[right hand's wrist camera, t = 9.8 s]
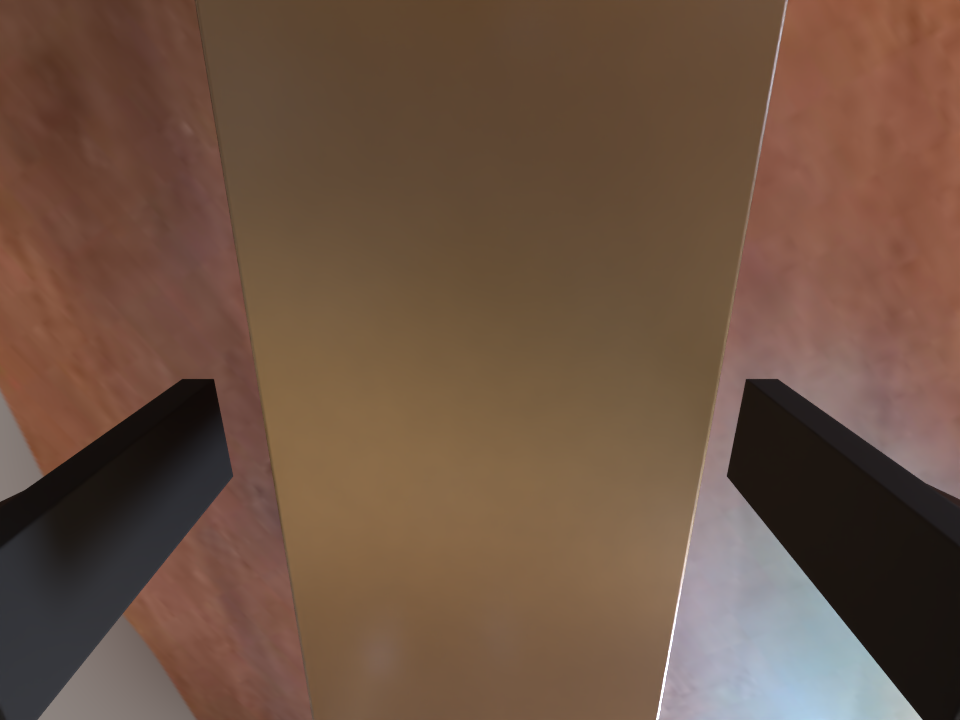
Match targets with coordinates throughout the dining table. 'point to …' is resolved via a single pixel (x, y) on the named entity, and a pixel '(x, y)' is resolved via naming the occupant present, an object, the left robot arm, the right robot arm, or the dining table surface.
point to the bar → (488, 328)
